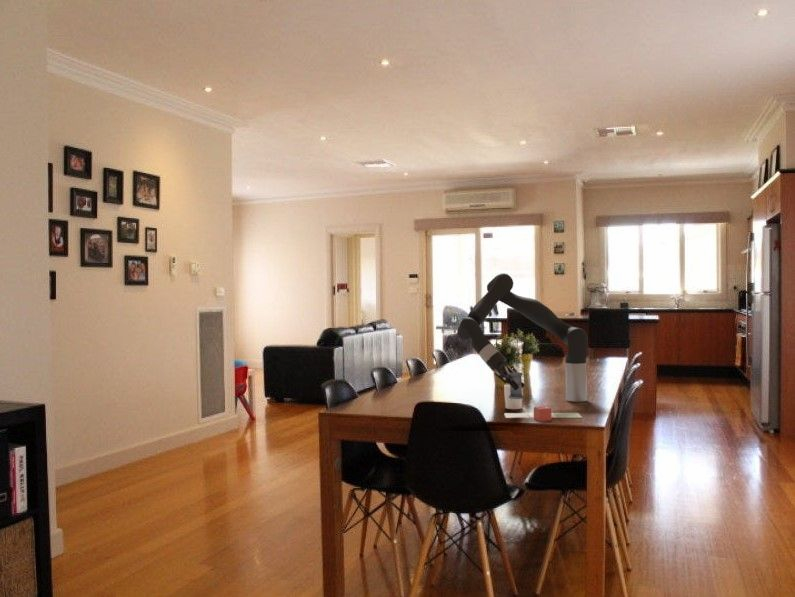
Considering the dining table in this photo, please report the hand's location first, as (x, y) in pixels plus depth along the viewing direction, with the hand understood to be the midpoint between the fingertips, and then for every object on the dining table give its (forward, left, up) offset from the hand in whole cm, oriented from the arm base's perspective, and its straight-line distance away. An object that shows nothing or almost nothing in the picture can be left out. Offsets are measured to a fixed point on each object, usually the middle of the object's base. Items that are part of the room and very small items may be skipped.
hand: (520, 387), depth 273 cm
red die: (+8, +8, -12) cm, 16 cm away
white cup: (-19, -1, -12) cm, 22 cm away
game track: (-1, +9, -12) cm, 15 cm away
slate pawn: (-1, -2, -4) cm, 5 cm away
